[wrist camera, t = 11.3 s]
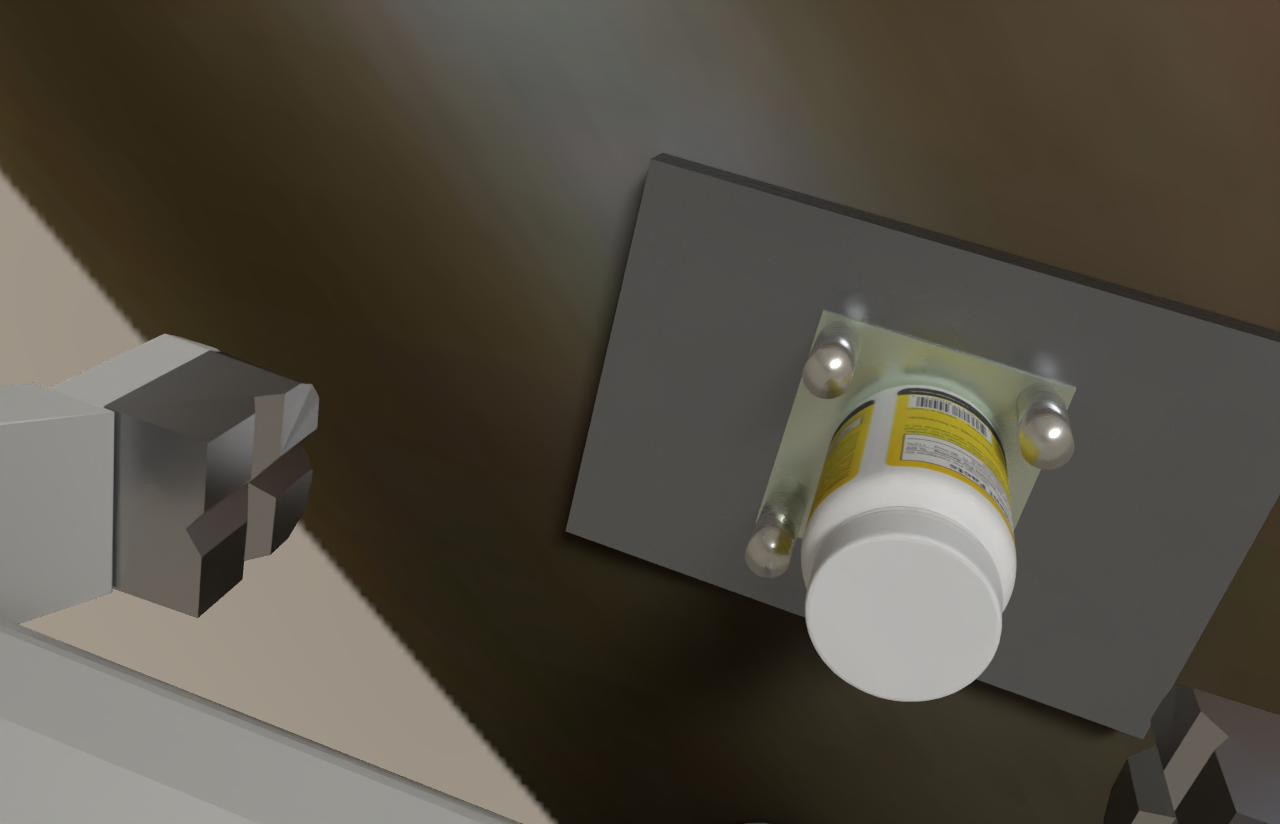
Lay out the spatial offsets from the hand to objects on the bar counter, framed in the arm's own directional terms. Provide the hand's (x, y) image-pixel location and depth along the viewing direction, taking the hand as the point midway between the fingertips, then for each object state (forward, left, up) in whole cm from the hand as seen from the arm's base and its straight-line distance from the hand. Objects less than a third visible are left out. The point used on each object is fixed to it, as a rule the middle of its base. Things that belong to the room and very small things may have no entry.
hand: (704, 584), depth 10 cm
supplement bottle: (+3, -6, -20) cm, 21 cm away
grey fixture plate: (+3, -6, -21) cm, 22 cm away
